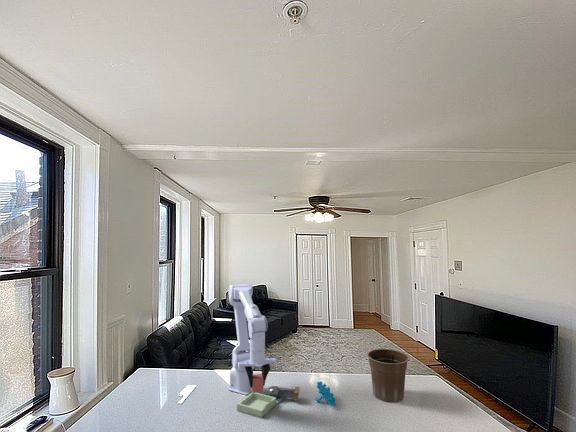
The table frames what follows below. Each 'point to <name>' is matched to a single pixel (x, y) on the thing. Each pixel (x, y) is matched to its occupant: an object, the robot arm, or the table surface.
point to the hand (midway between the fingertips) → (257, 385)
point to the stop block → (257, 383)
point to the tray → (256, 404)
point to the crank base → (277, 399)
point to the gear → (325, 393)
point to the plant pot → (388, 374)
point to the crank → (284, 392)
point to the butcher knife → (186, 392)
